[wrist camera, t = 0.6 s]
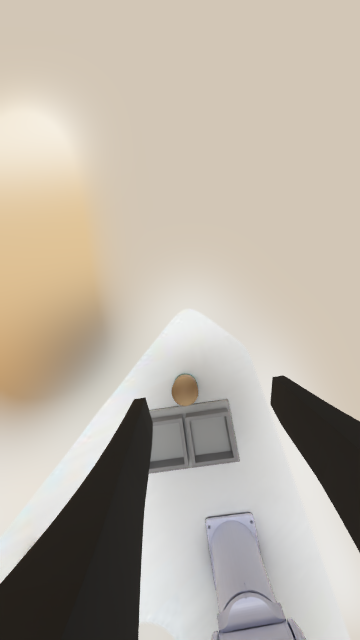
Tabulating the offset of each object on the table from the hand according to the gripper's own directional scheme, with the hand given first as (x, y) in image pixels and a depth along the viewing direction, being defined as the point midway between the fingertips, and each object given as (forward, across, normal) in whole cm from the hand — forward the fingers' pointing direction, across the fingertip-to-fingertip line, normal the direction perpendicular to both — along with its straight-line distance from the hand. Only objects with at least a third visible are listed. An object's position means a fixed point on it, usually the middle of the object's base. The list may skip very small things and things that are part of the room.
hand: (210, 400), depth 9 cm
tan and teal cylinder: (+18, +2, +16) cm, 25 cm away
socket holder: (+14, +3, +23) cm, 27 cm away
